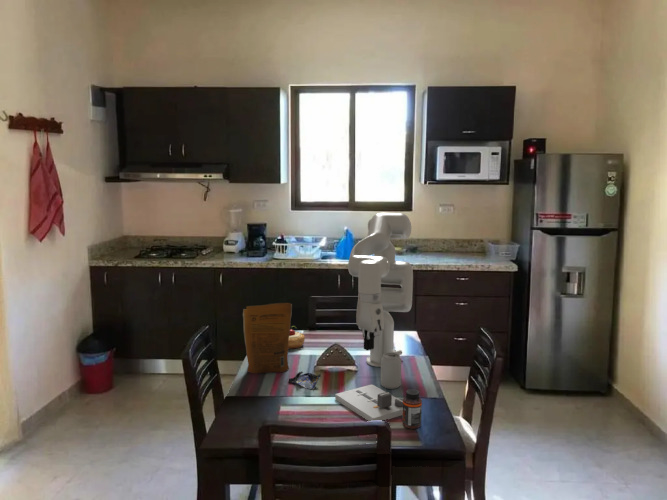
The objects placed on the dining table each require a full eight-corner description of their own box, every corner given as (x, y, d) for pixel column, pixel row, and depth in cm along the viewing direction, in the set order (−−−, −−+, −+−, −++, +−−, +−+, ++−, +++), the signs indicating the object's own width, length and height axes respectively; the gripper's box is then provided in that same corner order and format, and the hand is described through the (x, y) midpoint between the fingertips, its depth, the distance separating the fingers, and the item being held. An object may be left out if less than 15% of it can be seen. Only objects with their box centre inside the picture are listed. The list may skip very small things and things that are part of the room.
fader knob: (386, 403, 189) (387, 391, 188) (391, 405, 187) (391, 393, 186) (377, 405, 187) (377, 393, 186) (381, 408, 185) (382, 396, 184)
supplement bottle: (400, 421, 181) (401, 387, 180) (418, 420, 182) (419, 387, 180) (404, 429, 176) (405, 395, 174) (423, 429, 176) (424, 395, 174)
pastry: (273, 347, 252) (271, 328, 251) (288, 340, 262) (287, 321, 261) (294, 351, 246) (293, 332, 244) (310, 343, 256) (309, 324, 254)
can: (402, 383, 212) (403, 352, 210) (398, 391, 205) (399, 359, 203) (383, 380, 214) (383, 350, 212) (378, 388, 207) (378, 357, 205)
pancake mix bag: (293, 373, 221) (292, 304, 216) (244, 376, 218) (242, 306, 214) (292, 367, 227) (291, 299, 223) (244, 369, 225) (242, 301, 220)
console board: (371, 389, 206) (372, 379, 205) (411, 412, 188) (411, 401, 187) (335, 399, 197) (335, 389, 197) (373, 424, 179) (373, 413, 179)
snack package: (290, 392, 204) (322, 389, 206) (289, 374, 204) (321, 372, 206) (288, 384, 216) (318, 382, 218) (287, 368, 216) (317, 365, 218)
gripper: (392, 300, 185) (391, 353, 188) (365, 290, 197) (364, 340, 201) (374, 303, 181) (373, 357, 184) (347, 293, 193) (347, 344, 196)
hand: (368, 348), depth 192 cm, fingers closed
